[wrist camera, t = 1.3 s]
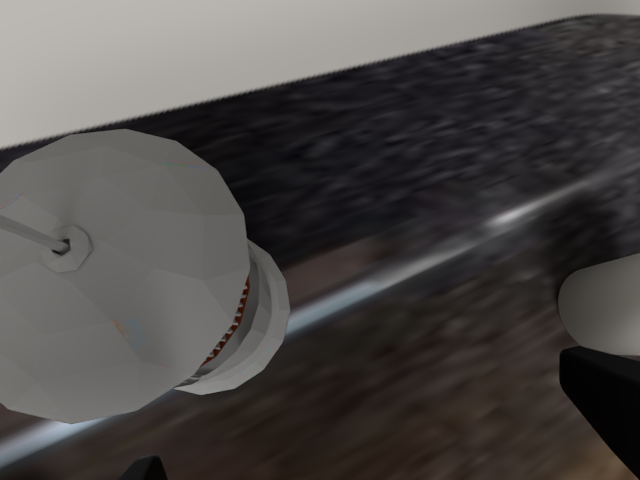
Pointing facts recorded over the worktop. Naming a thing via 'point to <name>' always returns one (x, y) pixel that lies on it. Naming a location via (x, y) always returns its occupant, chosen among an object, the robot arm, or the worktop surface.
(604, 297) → the white bottle
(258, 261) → the french press
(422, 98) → the worktop surface
